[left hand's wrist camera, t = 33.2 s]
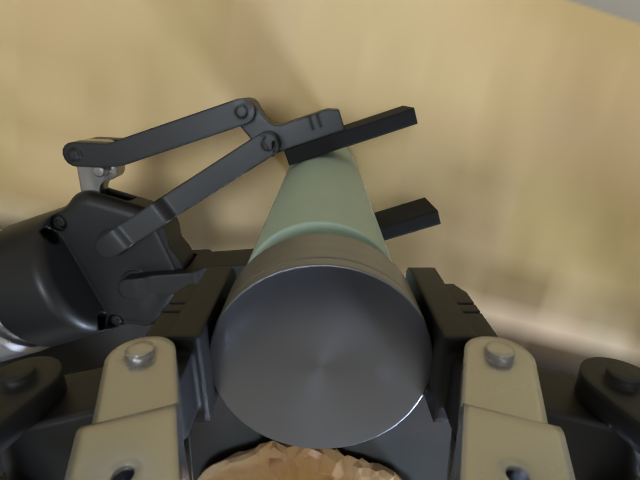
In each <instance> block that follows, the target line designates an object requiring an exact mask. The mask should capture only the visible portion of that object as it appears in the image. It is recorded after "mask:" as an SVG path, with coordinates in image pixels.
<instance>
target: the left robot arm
mask: <svg viewBox="0 0 640 480" xmlns="http://www.w3.org/2000/svg"><path fill="white" fill-rule="evenodd" d="M235 280H236V272H235V269H234V267H208V268H207V269H206V271H205V273H204V274H203V276H202V277H201V279H200V281H199V282H198V284H188V285H186V286H185V287H183V288H182V289H180V290H179V291H177V292H176V293H175V294H174V296H173V297H172V299H171V300H170V301H169V305H167V306H166V307H165V309H164V310H163V313H161V314H160V316H159V317H158V319H157V320H156V321H155V323H154V324H153V326H152V327H151V329H150V330H149V331H148V333H147V334H146V336H145V337H142V338H138V339H134V340H131V341H129V342H126V343H124V344H122V345H120V346H119V347H117V348H116V349H114V350H113V351H112V352H111V353H110V354H109V355H108V356H107V358H106V359H105V362H104V367H101V368H96V369H92V370H87V371H82V372H77V373H72V374H67V375H64V373H63V369H62V365H61V363H60V361H59V360H58V359H56V358H53V357H49V356H36V357H30V358H25V359H21V360H18V361H15V362H12V363H10V364H7V365H5V366H3V367H1V368H0V460H1V462H2V465H3V467H4V470H5V473H4V474H3V475H2V476H1V477H0V480H193V469H192V458H191V446H190V439H189V433H190V430H191V428H192V425H193V422H194V421H210V418H211V415H212V412H213V409H214V406H215V403H216V400H217V397H218V394H219V393H218V391H217V389H216V387H215V385H214V381H213V373H212V365H211V356H210V342H211V336H212V333H213V330H214V328H215V325H216V322H217V320H218V318H219V316H220V313H221V311H222V309H223V306H224V304H225V302H226V300H227V297H228V295H229V293H230V291H231V288H232V286H233V284H234V282H235ZM406 280H407V282H408V284H409V286H410V288H411V290H412V293H413V295H414V297H415V299H416V302H417V304H418V306H419V308H420V311H421V313H422V315H423V317H424V319H425V322H426V324H427V327H428V330H429V332H430V335H431V340H432V345H433V352H432V361H431V370H430V377H429V383H428V385H427V387H426V390H425V392H424V396H425V398H426V401H427V404H428V407H429V410H430V413H431V416H432V419H433V422H449V423H450V426H451V428H452V432H451V439H450V446H449V458H448V469H447V480H640V477H639V476H638V474H639V472H640V368H638V367H636V366H634V365H632V364H629V363H626V362H623V361H620V360H616V359H611V358H604V357H594V358H589V359H586V360H584V361H583V362H582V363H581V365H580V369H579V372H578V375H573V374H568V373H563V372H558V371H553V370H548V369H544V368H540V367H537V366H536V362H535V359H534V358H533V356H532V355H531V354H530V353H529V352H528V351H527V350H526V349H524V348H523V347H521V346H520V345H518V344H516V343H514V342H511V341H509V340H506V339H502V338H498V336H497V335H496V333H495V332H494V331H493V329H492V328H491V326H490V325H489V324H488V322H487V321H486V319H485V318H484V317H483V315H482V314H480V311H479V310H478V308H477V307H476V305H474V302H473V301H472V300H471V298H470V297H469V295H468V294H467V293H466V292H465V291H463V290H462V289H460V288H459V287H457V286H455V285H454V284H445V283H444V282H443V280H442V279H441V277H440V276H439V274H438V272H437V271H436V269H435V268H408V269H407V273H406Z"/></svg>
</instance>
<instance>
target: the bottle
mask: <svg viewBox="0 0 640 480" xmlns="http://www.w3.org/2000/svg"><path fill="white" fill-rule="evenodd" d="M311 234H331V235H339V236H344V237H348V238H352V239H355V240H358V241H360V242H363V243H366V244H368V245H369V246H371V247H373V248H375V249H377V250H378V251H380V252H381V253H382V254H384V255H385V256H387V257H388V258H389V259H390V260H391V258H390V255H389V252H388V250H387V247H386V244H385V242H384V239H383V236H382V233H381V231H380V228H379V225H378V222H377V220H376V217H375V214H374V211H373V209H372V206H371V203H370V200H369V198H368V195H367V192H366V189H365V187H364V184H363V181H362V178H361V176H360V173H359V170H358V167H357V165H356V162H355V159H354V157H353V155H352V153H351V151H350V150H349V149H348V148H347V147H344V148H341V149H338V150H335V151H332V152H329V153H326V154H323V155H320V156H317V157H314V158H311V159H308V160H305V161H302V162H299V163H296V164H293V165H290V167H289V169H288V171H287V174H286V176H285V178H284V181H283V183H282V185H281V188H280V190H279V192H278V195H277V197H276V199H275V201H274V204H273V206H272V208H271V211H270V213H269V215H268V218H267V220H266V222H265V225H264V227H263V229H262V231H261V234H260V236H259V238H258V241H257V243H256V245H255V248H254V250H253V252H252V255H251V257H250V259H249V261H248V263H249V262H250V261H251V260H252V259H253V258H254V257H256V256H257V255H258V254H260V253H261V252H262V251H264V250H265V249H267V248H269V247H271V246H273V245H274V244H277V243H279V242H282V241H284V240H287V239H290V238H294V237H298V236H303V235H311Z"/></svg>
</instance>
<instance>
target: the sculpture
mask: <svg viewBox="0 0 640 480" xmlns="http://www.w3.org/2000/svg"><path fill="white" fill-rule="evenodd" d="M197 480H403V479H402V478H401V477H400V476H399V475H398V474H397V473H395V472H394V471H392V470H391V469H389V468H387V467H385V466H383V465H381V464H379V463H368V462H367V461H366V460H364V459H363V458H361V459H359V460H358V459H356V458H354V457H352V456H349V455H346V456H344V455H342V454H341V453H340V452H339V451H338V449H337V448H336V449H335V450H333V449H331V448H330V449H313V448H302V447H297V446H292V445H282V444H280V443H278V442H276V441H274V440H273V441H269V442H265V443H262V444H259V445H258V446H257V447H255V448H253V449H250V450H247V451H239V452H237V453H235V454H233V455H231V456H229V457H227V458H225V459H224V460H222V461H219V462H217V463H214V464H212V465H211V466H209V467H208V468H206V469H205V470H204V471H203V472H202V474H201V475H200V477H199V478H198V479H197Z"/></svg>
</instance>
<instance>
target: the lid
mask: <svg viewBox="0 0 640 480" xmlns="http://www.w3.org/2000/svg"><path fill="white" fill-rule="evenodd" d="M432 352H433V345H432V340H431V335H430V332H429V330H428V327H427V324H426V322H425V319H424V317H423V315H422V313H421V311H420V308H419V306H418V304H417V302H416V299H415V297H414V295H413V293H412V290H411V288H410V286H409V284H408V282H407V280H406V279H405V277H404V275H403V274H402V272H401V271H400V270H399V269H398V267H397V266H396V265H395V264H394V263H393V262H392V261H391V260H390V259H389V258H388V257H387V256H385V255H384V254H382V253H381V252H380V251H378V250H377V249H375V248H373V247H371V246H369V245H368V244H366V243H363V242H360V241H358V240H355V239H352V238H348V237H344V236H339V235H331V234H311V235H303V236H298V237H294V238H290V239H287V240H284V241H282V242H279V243H277V244H274V245H273V246H271V247H269V248H267V249H265V250H264V251H262V252H261V253H260V254H258V255H257V256H256V257H254V258H253V259H252V260H251V261H250V262H249V263H248V264H247V265H246V266H245V267H244V269H243V270H242V271H241V273H240V274H239V275H238V277H237V279H236V280H235V282H234V284H233V286H232V288H231V291H230V293H229V295H228V297H227V300H226V302H225V304H224V306H223V309H222V311H221V313H220V316H219V318H218V320H217V322H216V325H215V328H214V330H213V333H212V336H211V342H210V356H211V365H212V373H213V381H214V385H215V387H216V389H217V391H218V393H219V395H220V397H221V398H222V400H223V402H224V403H225V405H226V406H227V407H228V408H229V409H230V411H231V412H232V413H233V414H234V415H235V416H236V417H237V418H238V419H239V420H241V421H242V422H243V423H244V424H245V425H247V426H248V427H250V428H251V429H253V430H254V431H256V432H258V433H260V434H261V435H263V436H265V437H268V438H270V439H272V440H275V441H277V442H281V443H284V444H287V445H292V446H297V447H302V448H313V449H330V448H340V447H346V446H350V445H355V444H358V443H361V442H365V441H368V440H370V439H372V438H375V437H377V436H379V435H381V434H383V433H384V432H386V431H388V430H390V429H391V428H393V427H394V426H395V425H397V424H398V423H399V422H401V421H402V420H403V419H404V418H405V417H406V416H407V415H408V414H409V413H410V412H411V411H412V410H413V409H414V407H415V406H416V405H417V404H418V402H419V400H420V399H421V397H422V396H423V394H424V392H425V390H426V387H427V385H428V383H429V377H430V370H431V361H432Z"/></svg>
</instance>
